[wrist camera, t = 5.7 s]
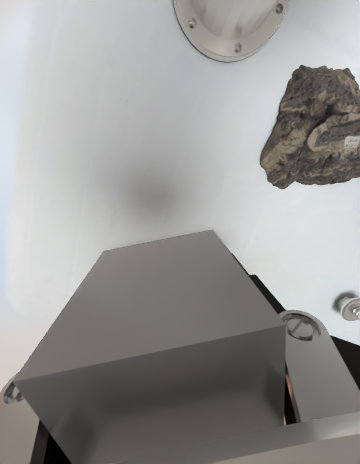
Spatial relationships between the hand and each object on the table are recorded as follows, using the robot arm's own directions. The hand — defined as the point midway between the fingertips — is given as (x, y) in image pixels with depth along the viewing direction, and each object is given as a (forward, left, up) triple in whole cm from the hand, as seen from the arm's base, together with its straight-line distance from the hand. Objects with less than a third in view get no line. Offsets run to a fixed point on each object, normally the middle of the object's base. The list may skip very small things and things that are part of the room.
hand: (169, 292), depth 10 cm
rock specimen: (-7, +24, -19) cm, 32 cm away
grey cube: (0, 0, -1) cm, 1 cm away
